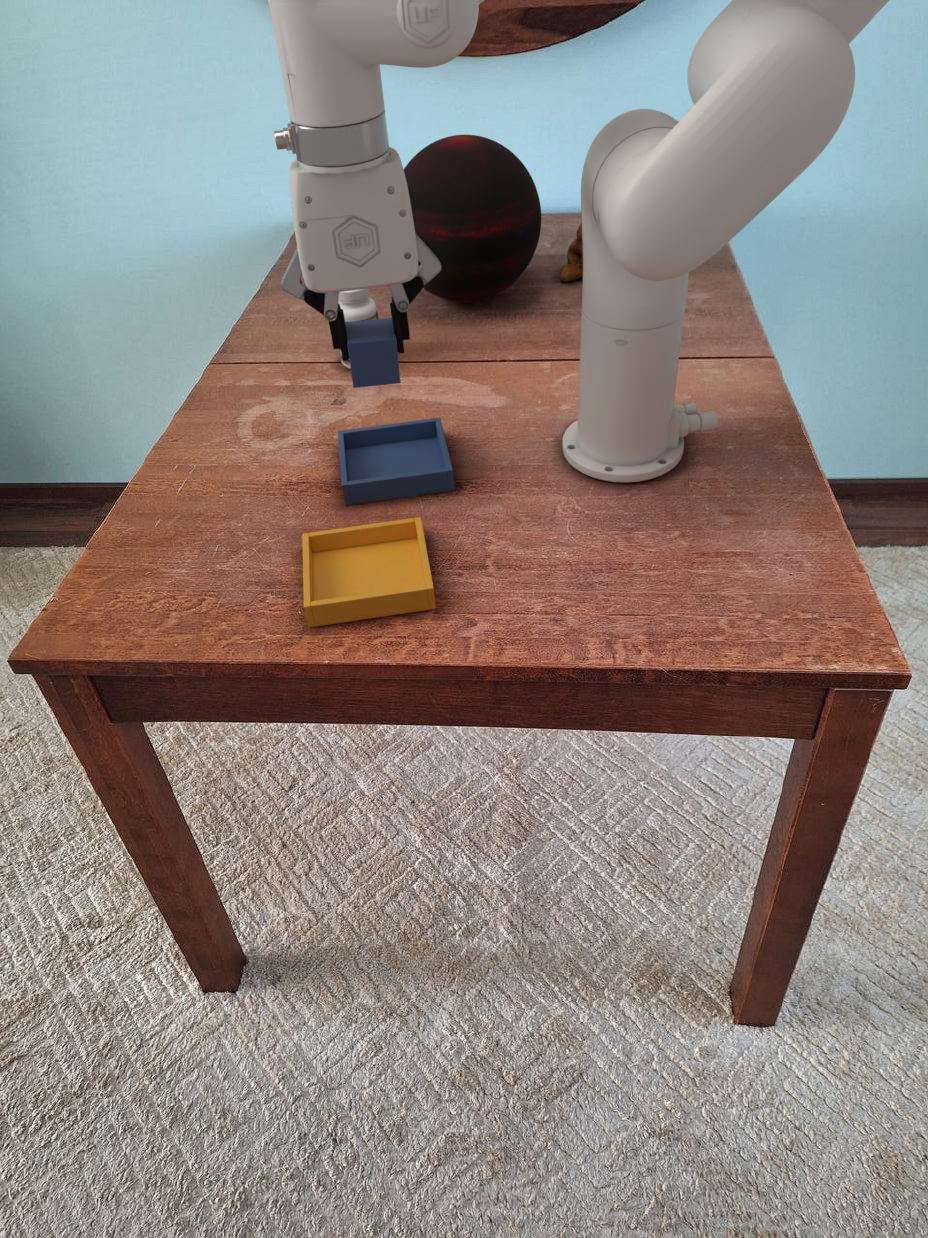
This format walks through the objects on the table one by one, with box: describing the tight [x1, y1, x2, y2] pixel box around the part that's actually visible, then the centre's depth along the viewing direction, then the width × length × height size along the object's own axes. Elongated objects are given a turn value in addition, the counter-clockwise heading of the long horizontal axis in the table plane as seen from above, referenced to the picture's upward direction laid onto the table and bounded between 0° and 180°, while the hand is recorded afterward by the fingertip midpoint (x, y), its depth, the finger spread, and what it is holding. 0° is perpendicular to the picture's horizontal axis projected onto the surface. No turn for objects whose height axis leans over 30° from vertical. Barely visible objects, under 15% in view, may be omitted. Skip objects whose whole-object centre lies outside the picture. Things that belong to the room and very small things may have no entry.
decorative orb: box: [403, 134, 542, 303], centre depth 114 cm, size 20×20×20 cm
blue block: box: [345, 317, 401, 389], centre depth 82 cm, size 4×4×4 cm
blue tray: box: [337, 417, 456, 506], centre depth 91 cm, size 11×10×2 cm
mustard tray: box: [301, 516, 437, 628], centre depth 78 cm, size 11×10×2 cm
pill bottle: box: [338, 288, 379, 370], centre depth 106 cm, size 5×5×10 cm
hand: (372, 348), depth 82 cm, fingers closed on blue block, 4 cm apart
